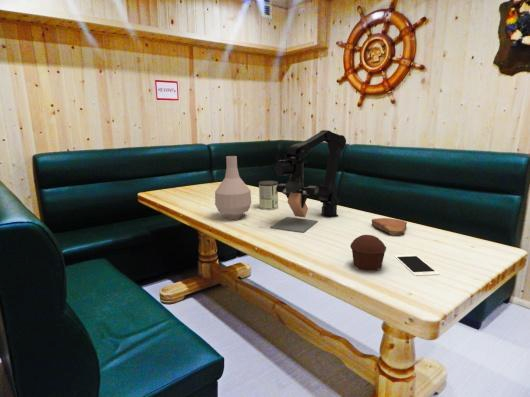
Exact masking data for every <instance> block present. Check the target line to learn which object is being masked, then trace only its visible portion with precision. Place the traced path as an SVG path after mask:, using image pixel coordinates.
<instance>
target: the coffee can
mask: <svg viewBox="0 0 530 397" xmlns="http://www.w3.org/2000/svg"><path fill="white" fill-rule="evenodd" d="M277 185H279V181H276V180H261V181H259V182H258V190H259V193H258V194H259V195H258V197H259V209H260V210H263V211H273V210H277V209H279V192H277V191H276V186H277Z"/></svg>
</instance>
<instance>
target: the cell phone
mask: <svg viewBox="0 0 530 397" xmlns="http://www.w3.org/2000/svg"><path fill="white" fill-rule="evenodd" d="M393 257H394V258H395V259H396V260H397V261H399V263H401V264H402V265H403V266H404V267H405V268H406V269H407V270H408V271H409V272H411V274H412V275H413V276H414V277H415V276H416V277H419V276H420V277H421V276H422V277H423V276H424V277H425V276H426V277H427V276H438V275H440V273H439V272H438V271H437V270H435V269H434V268H433V267H432V266H431V265H429V264H428V263H427V262H425V260H423V259H422V258H421V257H419V256H418V255H417V254H398V255H394V256H393Z"/></svg>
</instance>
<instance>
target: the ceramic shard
mask: <svg viewBox="0 0 530 397" xmlns="http://www.w3.org/2000/svg"><path fill="white" fill-rule="evenodd" d="M407 222H408V221H406V220H402V219H397V218H388V217H383V218H382V217H380V218H372V219H371V225H372V227H374V228H377V229H379V230H380V231H383V232H386V233H387V234H388V235H389V236H401V235H402V236H403V235H405V232H406V228H407V224H408V223H407Z"/></svg>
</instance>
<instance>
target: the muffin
mask: <svg viewBox="0 0 530 397" xmlns="http://www.w3.org/2000/svg"><path fill="white" fill-rule="evenodd" d="M349 246H350V248H351V253H352V260H353V261H352V262H353V267H355V268H357V269H358V270H360V271H365V272H375V271H376V272H377V271H378V270H381V269H382V265H383V262H384V257H385V253H386V251H387V246H386V245H385V244H384V242H383V240H381V239H380V238H378V237H377V236H375V235H373V234H362V235H359V236H358V237H357V236H356V238H354V240H353V241H351V243H350V245H349Z"/></svg>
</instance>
